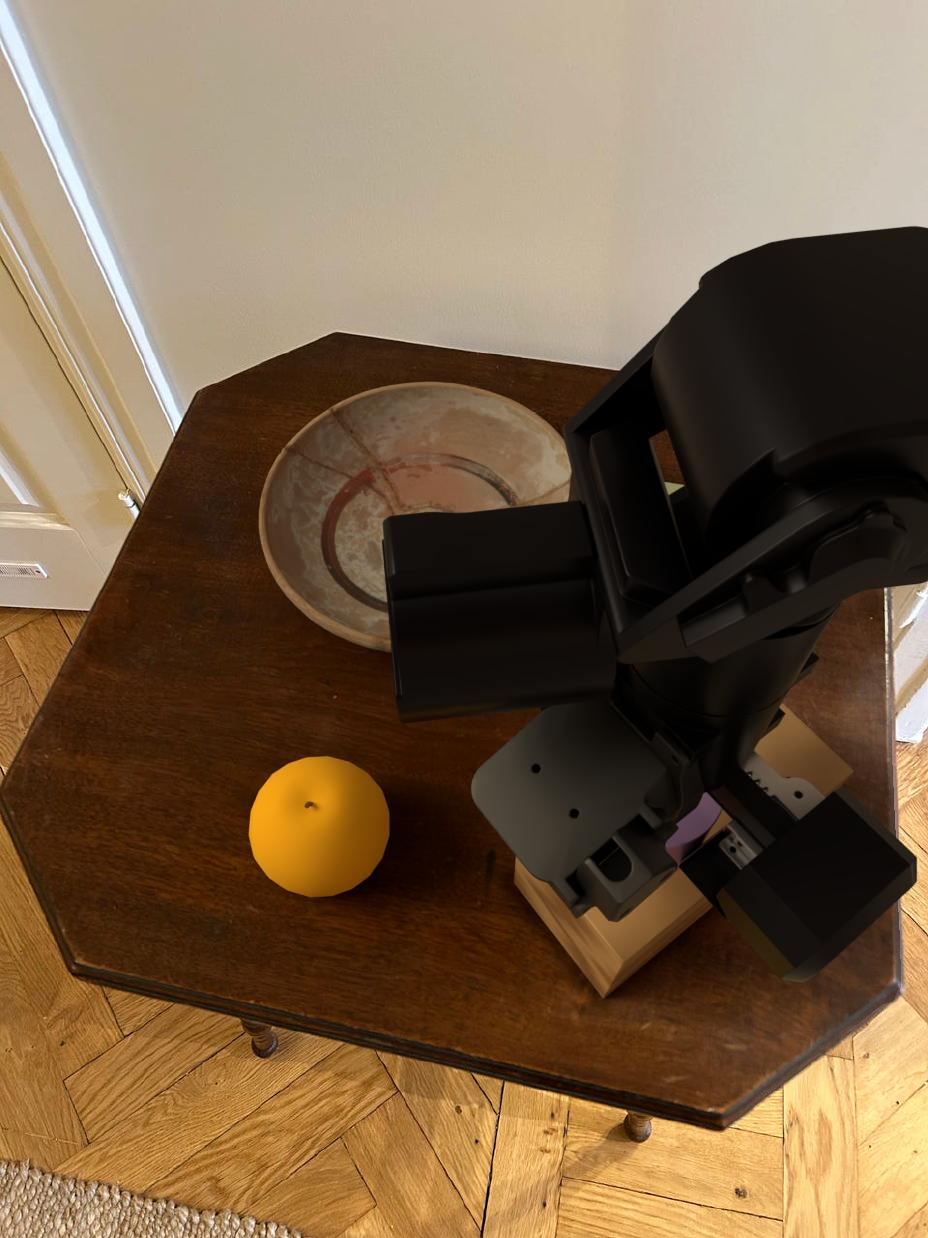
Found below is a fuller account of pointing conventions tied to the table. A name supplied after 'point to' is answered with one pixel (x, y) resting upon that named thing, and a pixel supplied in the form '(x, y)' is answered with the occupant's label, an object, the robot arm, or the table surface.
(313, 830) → the orange
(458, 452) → the ceramic bowl
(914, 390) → the robot arm
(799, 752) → the block
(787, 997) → the table surface
